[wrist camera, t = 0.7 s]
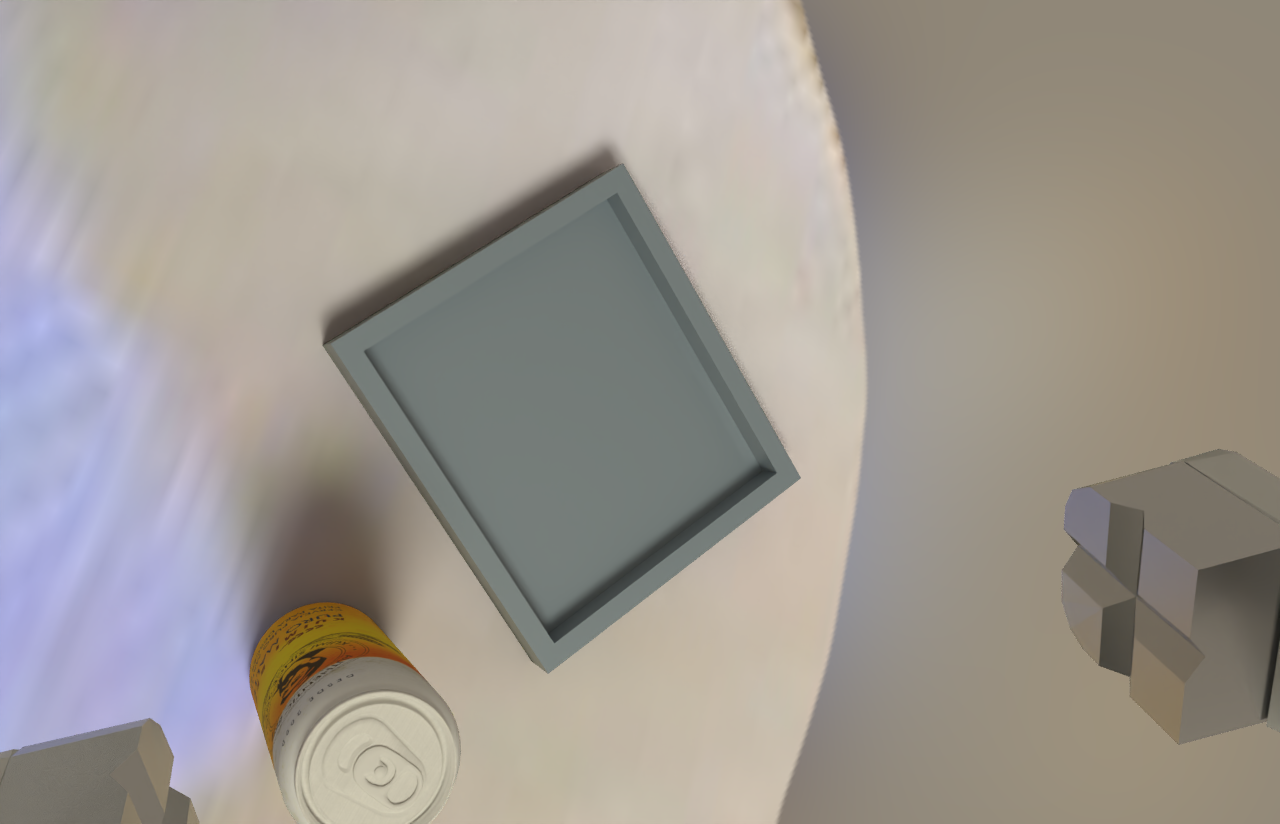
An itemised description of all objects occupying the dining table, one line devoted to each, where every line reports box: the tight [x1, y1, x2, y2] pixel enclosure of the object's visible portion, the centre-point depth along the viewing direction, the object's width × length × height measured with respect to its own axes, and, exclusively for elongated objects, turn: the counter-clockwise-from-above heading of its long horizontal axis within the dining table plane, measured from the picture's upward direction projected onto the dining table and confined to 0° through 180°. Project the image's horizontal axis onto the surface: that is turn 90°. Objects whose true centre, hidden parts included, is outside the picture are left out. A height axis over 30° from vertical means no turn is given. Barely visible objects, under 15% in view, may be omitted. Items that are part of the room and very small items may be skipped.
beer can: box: [249, 602, 461, 824], centre depth 45 cm, size 6×6×15 cm
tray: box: [323, 164, 801, 673], centre depth 55 cm, size 18×16×2 cm
